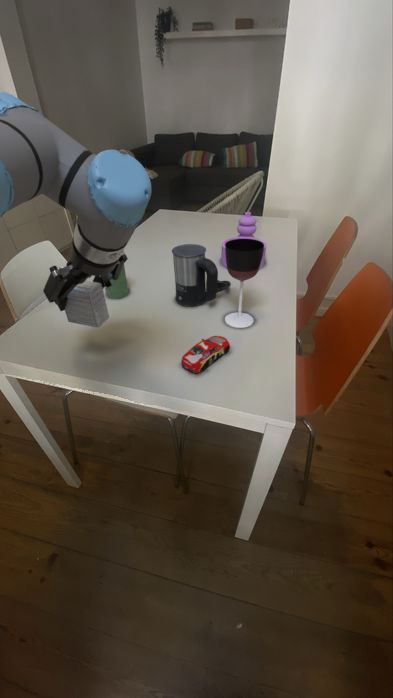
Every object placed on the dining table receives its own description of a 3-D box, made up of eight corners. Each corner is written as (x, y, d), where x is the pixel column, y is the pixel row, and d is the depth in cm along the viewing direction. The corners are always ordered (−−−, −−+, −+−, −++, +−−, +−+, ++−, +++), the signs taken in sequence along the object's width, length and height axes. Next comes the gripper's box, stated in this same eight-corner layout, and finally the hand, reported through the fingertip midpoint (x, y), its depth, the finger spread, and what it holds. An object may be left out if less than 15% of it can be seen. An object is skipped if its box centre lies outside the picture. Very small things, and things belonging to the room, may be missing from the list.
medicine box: (110, 318, 70) (102, 282, 65) (98, 329, 67) (89, 292, 61) (80, 312, 72) (70, 277, 67) (67, 322, 69) (56, 286, 64)
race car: (216, 339, 77) (216, 326, 74) (234, 349, 74) (235, 335, 72) (177, 366, 69) (176, 351, 67) (195, 377, 66) (194, 363, 64)
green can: (104, 298, 94) (95, 259, 87) (109, 288, 99) (102, 250, 92) (126, 298, 94) (119, 259, 86) (130, 288, 99) (124, 250, 92)
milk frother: (169, 303, 91) (165, 252, 82) (193, 280, 102) (191, 234, 93) (214, 313, 86) (215, 261, 77) (234, 288, 97) (237, 240, 88)
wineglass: (257, 328, 80) (266, 251, 68) (223, 328, 81) (226, 251, 68) (253, 311, 87) (261, 238, 74) (221, 312, 87) (224, 238, 75)
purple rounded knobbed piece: (263, 272, 106) (268, 232, 98) (218, 269, 109) (219, 230, 101) (265, 245, 126) (269, 210, 118) (226, 243, 128) (228, 209, 120)
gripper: (46, 285, 44) (39, 332, 64) (161, 248, 55) (125, 298, 74) (19, 238, 44) (20, 299, 64) (140, 210, 55) (110, 270, 74)
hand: (77, 298), depth 69 cm, fingers closed on medicine box, 7 cm apart
